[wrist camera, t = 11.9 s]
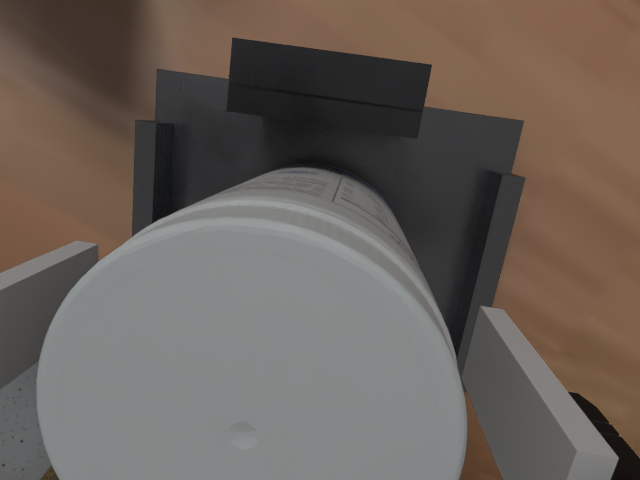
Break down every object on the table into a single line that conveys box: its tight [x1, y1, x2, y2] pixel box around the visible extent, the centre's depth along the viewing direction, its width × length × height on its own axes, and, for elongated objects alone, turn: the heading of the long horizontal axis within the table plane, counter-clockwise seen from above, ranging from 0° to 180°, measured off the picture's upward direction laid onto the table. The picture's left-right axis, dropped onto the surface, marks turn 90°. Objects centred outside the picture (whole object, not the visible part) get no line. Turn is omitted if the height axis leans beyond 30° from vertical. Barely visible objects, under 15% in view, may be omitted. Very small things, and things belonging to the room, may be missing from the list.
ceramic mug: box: [0, 361, 59, 480], centre depth 24 cm, size 11×8×8 cm
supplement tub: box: [36, 163, 467, 480], centre depth 16 cm, size 10×10×15 cm
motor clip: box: [132, 38, 525, 392], centre depth 20 cm, size 27×18×12 cm, turn 172°
